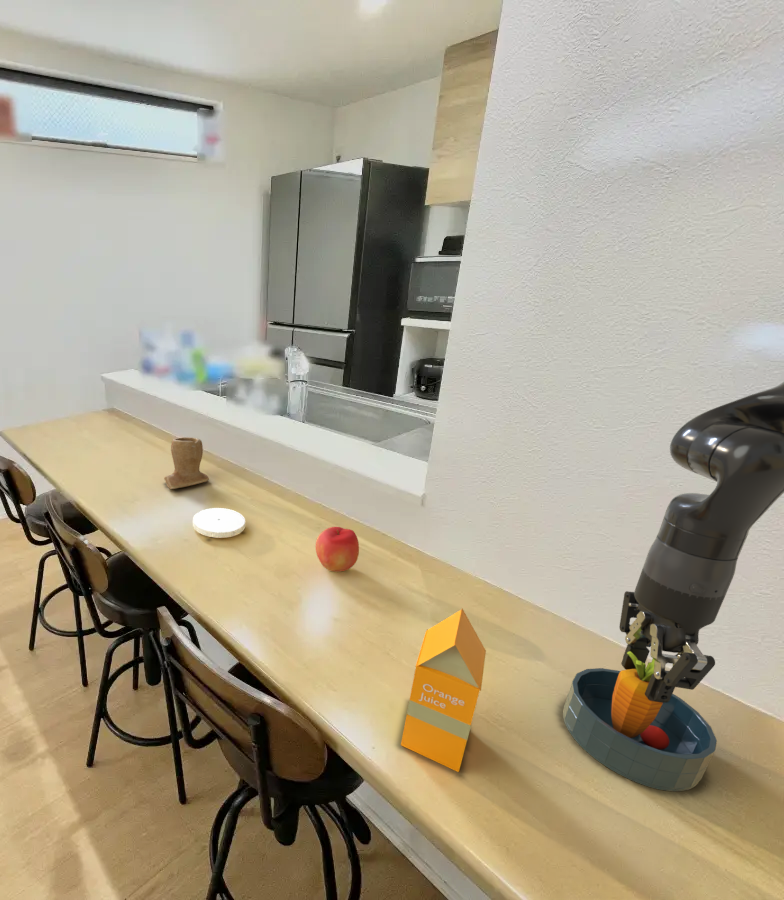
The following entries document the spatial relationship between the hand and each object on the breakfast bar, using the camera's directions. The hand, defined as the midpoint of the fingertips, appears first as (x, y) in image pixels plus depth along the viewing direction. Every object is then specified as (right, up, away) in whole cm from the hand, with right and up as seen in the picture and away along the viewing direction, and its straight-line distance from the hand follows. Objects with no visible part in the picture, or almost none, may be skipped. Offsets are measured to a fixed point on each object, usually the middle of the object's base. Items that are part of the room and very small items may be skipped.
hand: (642, 683), depth 67 cm
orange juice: (-25, -11, +6) cm, 28 cm away
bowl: (+2, -11, +5) cm, 12 cm away
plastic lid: (-53, +10, +66) cm, 85 cm away
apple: (-28, +4, +47) cm, 55 cm away
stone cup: (-62, +21, +94) cm, 115 cm away
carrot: (0, -10, +4) cm, 11 cm away
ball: (+4, -9, +3) cm, 11 cm away
